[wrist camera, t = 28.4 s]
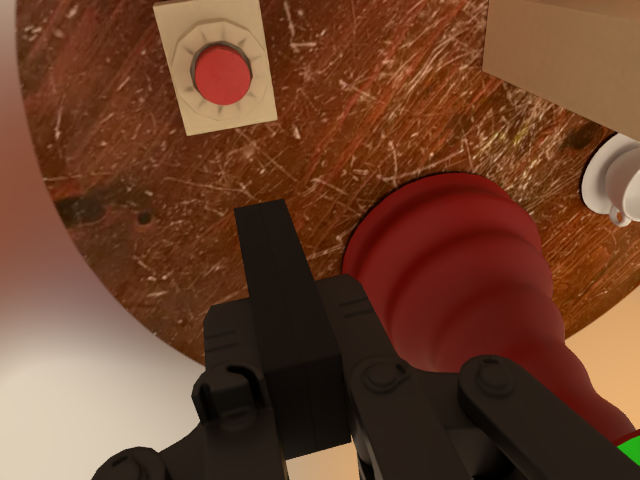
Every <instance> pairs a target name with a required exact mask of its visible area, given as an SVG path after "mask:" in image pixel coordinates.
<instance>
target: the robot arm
mask: <svg viewBox="0 0 640 480" xmlns="http://www.w3.org/2000/svg"><path fill="white" fill-rule="evenodd" d="M234 213H235V219H236V224H237V230H238V235H239V241H240V247H241V252H242V258H243V264H244V269H245V275H246V281H247V286H248V292H249V297H248V298H243V299H239V300H235V301H230V302H226V303H222V304H217V305H213V306H211V307H210V309H209V311H208V313H207V315H206V317H205V319H204V321H203V324H204V339H205V340H204V346H205V367H206V371H205V372H204V373H202V374H201V376H200V377H199V379H198V380H197V381H196V383H195V384H194V386H193V391H192V395H191V397H192V400H193V403H194V405H195V408H196V411H197V413H198V416H199V419H200V422H199V424H198V425H197V427H196V428H195V429H194V430H193V431H192V432H191V433H190V434H189V435H187V436H186V437H184V438H183V439H182V440H180V441H178V442H176V443H175V444H173V445H171V446H170V447H168V448H166V449H164V450H162V451H161V452H159V453H158V452H156V451H155V450H153V449H152V448H147V447H134V448H130V449H125V450H123V451H121V452H119V453H118V454H116V455H114V456H112V457H110V458H109V459H108V460H107V461H106V462H105V463H104V464H103V465H102V466H101V467H99V468H98V470H97V471H96V473H95V474H94V476H93V478H92V479H91V480H289V476H288V471H287V466H286V461H285V460H289V459H292V458H296V457H300V456H303V455H307V454H311V453H314V452H318V451H321V450H325V449H328V448H332V447H336V446H339V445H343V444H347V443H350V442H351V435H352V438H353V441H354V444H355V447H356V450H357V458H358V467H359V477H360V480H640V466H639V465H637V464H636V463H635V462H634V461H633V460H632V459H630V458H629V457H628V456H627V455H626V454H624V453H623V452H622V451H621V450H620V449H619V448H617V447H616V446H615V445H614V444H613V443H611V442H610V441H609V440H608V439H607V438H606V437H604V436H603V435H602V434H601V433H600V432H598V431H597V430H596V429H595V428H594V427H593V426H591V425H590V424H589V423H588V422H587V421H585V420H584V419H583V418H582V417H581V416H580V415H578V414H577V413H576V412H575V411H574V410H572V409H571V408H570V407H569V406H568V405H567V404H565V403H564V402H563V401H562V400H561V399H559V398H558V397H557V396H556V395H555V394H554V393H552V392H551V391H550V390H549V389H548V388H546V387H545V386H544V385H543V384H542V383H541V382H539V381H538V380H537V379H536V378H535V377H533V376H532V375H531V374H530V373H529V372H528V371H526V370H525V369H524V368H523V367H522V366H520V365H519V364H517V363H515V362H514V361H512V360H511V359H509V358H505V357H502V356H498V355H479V356H476V357H472V358H470V359H469V360H467V361H466V362H465V363H464V364H463V365H462V366H461V369H460V371H459V373H457V372H431V371H424V370H421V369H417V368H415V367H413V366H411V365H410V364H409V363H408V362H407V361H405V360H403V359H402V358H400V357H399V355H398V354H397V352H396V351H395V349H394V347H393V345H392V343H391V341H390V339H389V337H388V335H387V333H386V331H385V329H384V327H383V325H382V323H381V321H380V319H379V318H378V316H377V314H376V312H375V311H374V308H373V306H372V304H371V302H370V300H369V299H368V296H367V294H366V292H365V290H364V288H363V286H362V284H361V283H360V282H359V281H357V280H356V279H354V278H353V277H352V276H350V275H349V274H348V273H347V274H343V275H338V276H334V277H330V278H325V279H321V280H317V281H314V279H313V276H312V273H311V270H310V268H309V265H308V262H307V260H306V257H305V254H304V252H303V249H302V246H301V244H300V241H299V238H298V236H297V233H296V230H295V228H294V225H293V222H292V220H291V217H290V214H289V212H288V209H287V206H286V204H285V201H284V199H279V200H274V201H269V202H264V203H259V204H254V205H249V206H244V207H239V208H235V209H234Z"/></svg>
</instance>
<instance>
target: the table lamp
mask: <svg viewBox="0 0 640 480" xmlns="http://www.w3.org/2000/svg"><path fill="white" fill-rule="evenodd" d="M347 273H348V274H349V275H350V276H352V277H353V278H354V279H356V280H357V281H359V282H360V283H361V284H362V286H363V288H364V290H365V292H366V294H367V296H368V299H369V300H370V302H371V304H372V306H373V308H374V311H375V312H376V314H377V316H378V318H379V319H380V321H381V323H382V325H383V327H384V329H385V331H386V333H387V335H388V337H389V339H390V341H391V343H392V345H393V347H394V349H395V351H396V352H397V354H398V355H399V356H400V357H401V358H402V359H403V360H405V361H407V362H408V363H409V364H410V365H411V366H413V367H415V368H417V369H421V370H424V371H431V372H457V373H459V371H460V369H461V366H462V365H463V364H464V363H465V362H466V361H467V360H469V359H470V358H472V357H476V356H479V355H498V356H502V357H505V358H509V359H511V360H512V361H514V362H515V363H517V364H519V365H520V366H522V367H523V368H524V369H525V370H526V371H528V372H529V373H530V374H531V375H532V376H533V377H535V378H536V379H537V380H538V381H539V382H541V383H542V384H543V385H544V386H545V387H546V388H548V389H549V390H550V391H551V392H552V393H554V394H555V395H556V396H557V397H558V398H559V399H561V400H562V401H563V402H564V403H565V404H567V405H568V406H569V407H570V408H571V409H572V410H574V411H575V412H576V413H577V414H578V415H580V416H581V417H582V418H583V419H584V420H585V421H587V422H588V423H589V424H590V425H591V426H593V427H594V428H595V429H596V430H597V431H598V432H600V433H601V434H602V435H603V436H604V437H606V438H607V439H608V440H609V441H610V442H611V443H613V444H614V445H615V446H616V447H617V448H619V449H620V450H621V451H622V452H623V453H624V454H626V455H627V456H628V457H629V458H630V459H632V460H633V461H634V462H635V463H636V464H637V465H639V466H640V429H638V430H636V429H635V427H634V426H633V425H632V423H631V422H630V420H629V419H628V418H627V417H626V415H625V414H624V413H623V412H622V411H620V410H619V409H618V408H617V407H615V406H613V405H612V404H611V403H609V402H608V401H606V400H605V399H603V398H602V397H600V395H598V394H597V393H596V391H595V390H594V388H593V386H592V384H591V382H590V379H589V376H588V373H587V371H586V369H585V367H584V365H583V364H582V362H581V361H580V360H579V359H578V358H577V356H576V355H575V354H574V353H573V352H572V351H571V350H570V349H568V347H567V346H566V345H565V333H564V323H563V319H562V316H561V313H560V311H559V309H558V308H557V306H556V305H555V304H554V302H553V301H552V295H553V283H552V274H551V271H550V268H549V264H548V263H547V261H546V260H545V258H544V257H543V256H542V251H541V239H540V236H539V233H538V229H537V226H536V224H535V223H534V221H533V220H532V218H531V217H530V215H529V214H528V212H526V211H525V210H524V209H523V208H521V207H520V206H519V205H518V204H517V203H515V202H514V201H512V199H511V198H510V197H509V195H508V194H507V192H505V191H504V190H503V189H502V188H501V187H499V186H498V185H497V184H496V183H494V182H492V181H490V180H488V179H486V178H484V177H482V176H478V175H473V174H467V173H445V174H440V175H435V176H430V177H425V178H422V179H420V180H417V181H415V182H412V183H410V184H407V185H405V186H403V187H402V188H400V189H399V190H397V191H395V192H394V193H392V194H391V195H389V196H388V197H386V198H385V199H384V200H383V201H382V202H381V203H380V204H378V205H377V206H376V207H375V208H374V209H373V210H372V211H371V212H370V213H369V214H368V215H367V217H366V218H365V219H364V220H363V221H362V222H361V224H360V225H359V226H358V228H357V230H356V231H355V233H354V235H353V236H352V238H351V240H350V241H349V244H348V247H347V250H346V253H345V256H344V260H343V269H342V275H343V274H347Z"/></svg>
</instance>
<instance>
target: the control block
mask: <svg viewBox="0 0 640 480" xmlns="http://www.w3.org/2000/svg"><path fill="white" fill-rule="evenodd" d="M153 10H154V14H155V18H156V21H157V25H158V29H159V33H160V36H161V40H162V44H163V48H164V51H165V55H166V59H167V63H168V67H169V70H170V74H171V78H172V82H173V85H174V89H175V93H176V97H177V100H178V104H179V108H180V112H181V116H182V119H183V123H184V127H185V131H186V134H187V136H190V135H195V134H201V133H207V132H212V131H218V130H223V129H229V128H234V127H240V126H245V125H251V124H257V123H262V122H268V121H273V120H277V113H276V106H275V100H274V93H273V87H272V81H271V74H270V68H269V61H268V55H267V49H266V42H265V36H264V29H263V23H262V17H261V10H260V4H259V0H169V1H162V2H155V3H154V5H153ZM215 45H225V46H229V47H231V48H233V49H235V50H236V51H237V52H239V53H240V54H241V56H242V57H243V58H244V60H245V62H246V64H247V66H248V69H249V72H250V85H249V88H248V91H247V93H246V94H245V95H244V97H243V98H242V99H241V100H239V101H238V102H236V103H233V104H230V105H218V104H214V103H212V102H210V101H208V100H207V99H206V98H205V97H204V96H203V95H202V94H201V93H200V91H199V90H198V88H197V85H196V81H195V64H196V61H197V59H198V57H199V55H200V54H201V53H202V52H203V51H204V50H205V49H207V48H209V47H211V46H215Z"/></svg>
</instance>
